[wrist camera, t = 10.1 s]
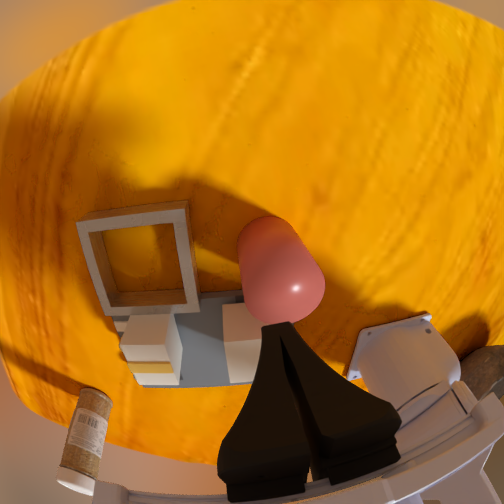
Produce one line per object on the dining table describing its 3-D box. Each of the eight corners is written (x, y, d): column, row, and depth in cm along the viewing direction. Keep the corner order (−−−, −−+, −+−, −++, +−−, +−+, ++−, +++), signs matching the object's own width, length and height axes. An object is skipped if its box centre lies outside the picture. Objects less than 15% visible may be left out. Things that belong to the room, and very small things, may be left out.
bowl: (445, 404, 41) (463, 435, 32) (391, 412, 36) (412, 457, 27) (506, 331, 34) (533, 361, 25) (473, 318, 28) (512, 362, 19)
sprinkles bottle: (76, 394, 26) (52, 481, 14) (86, 381, 25) (58, 479, 13) (107, 410, 28) (90, 497, 15) (119, 399, 26) (101, 497, 14)
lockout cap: (298, 214, 19) (328, 252, 14) (296, 269, 21) (320, 319, 15) (234, 218, 19) (241, 259, 13) (238, 274, 20) (245, 328, 15)
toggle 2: (265, 300, 20) (274, 337, 17) (265, 342, 22) (273, 378, 19) (222, 304, 20) (223, 342, 16) (227, 346, 22) (230, 383, 18)
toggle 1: (171, 307, 20) (163, 346, 16) (182, 348, 22) (178, 387, 18) (132, 308, 19) (118, 346, 16) (147, 349, 21) (138, 386, 18)
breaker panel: (293, 284, 21) (299, 297, 20) (287, 372, 26) (291, 386, 25) (109, 297, 20) (102, 310, 18) (144, 381, 25) (142, 394, 23)
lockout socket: (188, 199, 18) (184, 208, 16) (201, 296, 21) (200, 312, 19) (87, 212, 17) (75, 222, 15) (112, 300, 20) (105, 315, 18)
